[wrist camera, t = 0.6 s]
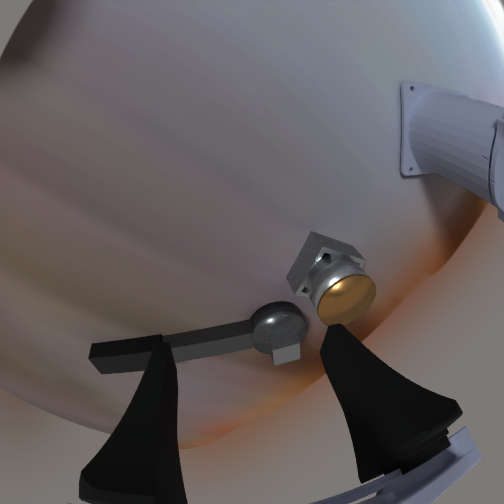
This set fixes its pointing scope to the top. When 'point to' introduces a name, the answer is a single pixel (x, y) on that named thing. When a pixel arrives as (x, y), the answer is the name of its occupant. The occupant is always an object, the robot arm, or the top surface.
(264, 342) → the ratchet
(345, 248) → the socket
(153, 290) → the top surface
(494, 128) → the robot arm
